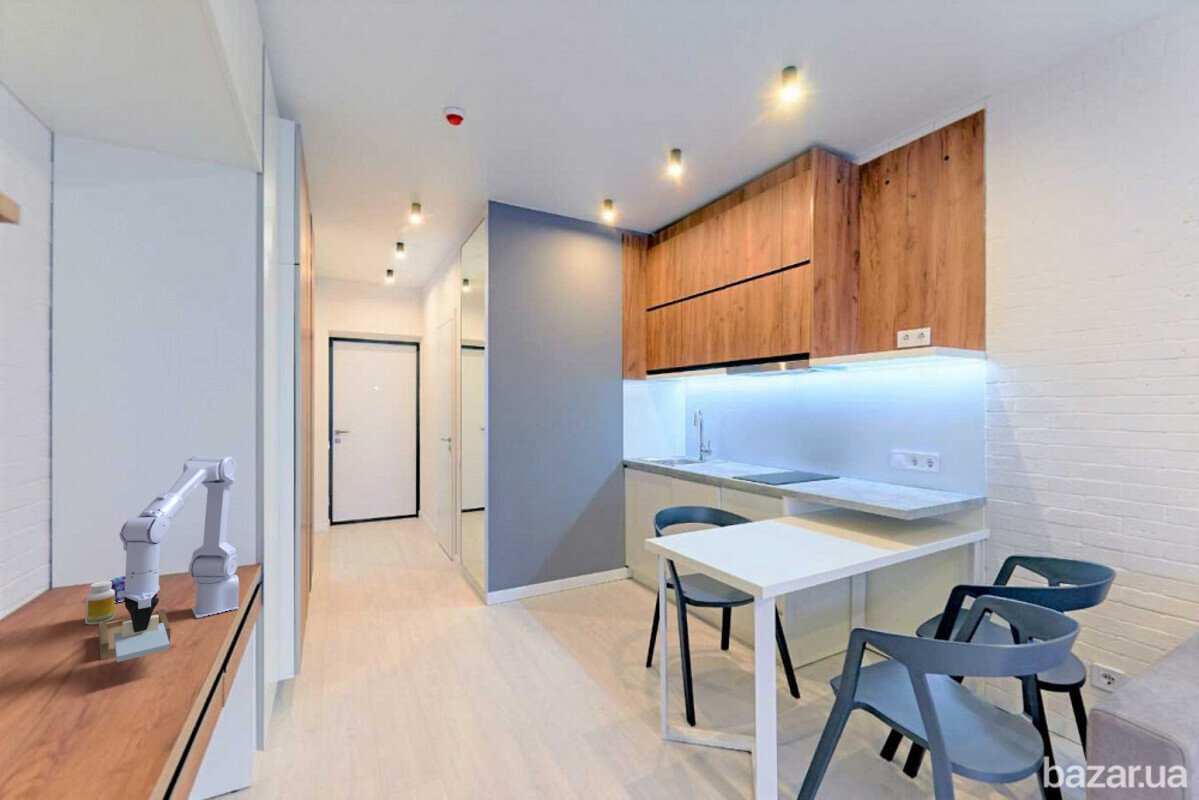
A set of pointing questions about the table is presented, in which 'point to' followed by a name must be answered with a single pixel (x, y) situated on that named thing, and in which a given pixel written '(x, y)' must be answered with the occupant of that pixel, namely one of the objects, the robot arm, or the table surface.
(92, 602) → the supplement bottle
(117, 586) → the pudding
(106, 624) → the box
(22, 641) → the table surface
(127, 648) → the lid
